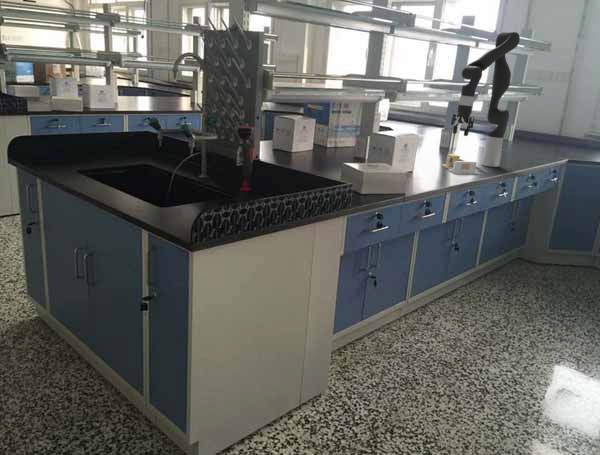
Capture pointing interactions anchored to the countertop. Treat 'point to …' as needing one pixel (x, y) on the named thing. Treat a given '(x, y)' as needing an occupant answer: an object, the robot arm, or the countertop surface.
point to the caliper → (477, 167)
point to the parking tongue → (448, 163)
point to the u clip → (454, 157)
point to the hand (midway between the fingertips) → (459, 134)
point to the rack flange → (464, 167)
